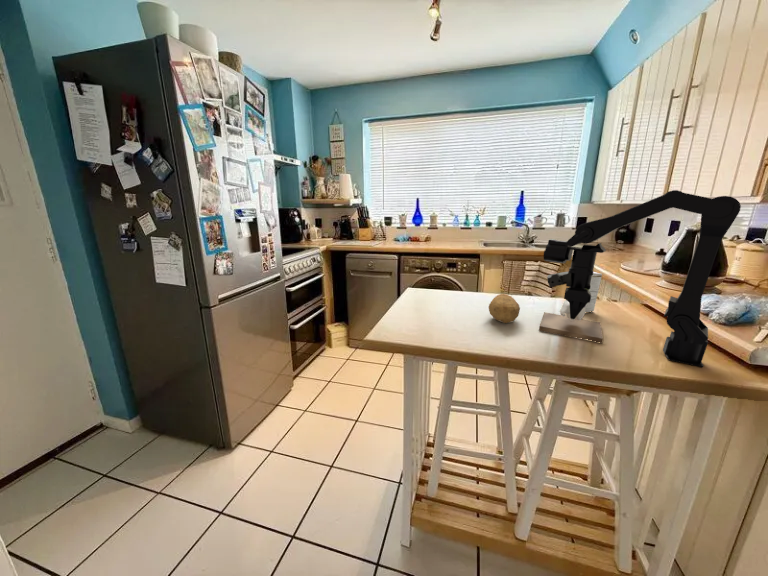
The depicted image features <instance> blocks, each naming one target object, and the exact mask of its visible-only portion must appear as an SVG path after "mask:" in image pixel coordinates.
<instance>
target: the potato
mask: <svg viewBox="0 0 768 576" xmlns="http://www.w3.org/2000/svg"><path fill="white" fill-rule="evenodd" d="M520 309H521V307H520V304H519V302H517V300H516V299H515V298H514V297H512V296H511V295H509V294H506V293H500V294H497V295H495V296H494V297H493V299H492V300H491V301H490V303H488V311H489V314H490V315H491V316H492V317H493V318H494V319H495V320H496V321H498V322H501V323H503V324H509V323H512V322H514V321H515V320H516V319H517V318H519V315H520Z"/></svg>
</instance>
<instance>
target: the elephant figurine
mask: <svg viewBox="0 0 768 576" xmlns="http://www.w3.org/2000/svg"><path fill="white" fill-rule="evenodd" d="M585 309H586V308H583V309H582V310H581V311H580V313H579V314H578V315H577V316H576V319H577V320H581V319H584V318H583V317H585V314H586V313H585ZM558 312H559V315H561V316H563V317H564V316H566V317H567V318H570V304H569V302H568V301H567V300H566V299H564V301H563V302H562V305H561V307H560V309H559V311H558ZM570 320H575V319H571V318H570Z"/></svg>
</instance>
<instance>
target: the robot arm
mask: <svg viewBox="0 0 768 576" xmlns="http://www.w3.org/2000/svg"><path fill="white" fill-rule="evenodd" d="M741 207H742V206H741V203H740V201H739V200H738V199H737V198H735V197H732V196H727V195H721V196H716V197H711V198H710V197H707V196H700V195H698V194H697V195H696V194H692V193H687V192H683V191H681V190H678V189H673V190H669V191H668V192H665V193H664V194H662V195H660V196H657V197H654V198H653V199H649V200H647V201H645V202H643V203H641V204H638V205H636V206H633V207H631V208H628V209H626V210H623V211H621V212H618V213H617V214H614V215H611V216H607V217H604V218H599V219H596V220H592V221H588V222H583V223H581V224H579V225H578V226H577V227H576V229H575V231H574V234H573V235H572V236H571V237H570V238H569V239H568V240H567V241H566V240H559V239H552V238H551V239H548V241H547V243H546V246H545V248H544V251H543V261H545V262H552V263H559V264H560V263H561V264H566V263H567V261H571V263H570V267H569V268H568V271H563V272H556V273H552V274H548V275H547V276H546V278H547V279H546V280H547V284H548V287H549V288H555V287H558V286H564V285H565V287H566V288H565V291H564V296H563V299H564V300H567V301H568V302H569V304H570V318H571V319H575V318H576V316H577V315H578V314H579V313H580V311H581V310H582V309H583V308H584V307H585V305H586V304H587V303H589V302H590V299H591V293H590V292H589V290H588V289H590V286H591V285H590V283H591V279H592V275H593V272H594V269H595V263H596V259H597V254H598V253H600V254H603V253H604V252H606V251H607V249H606V248H605V247H604V246H603V245H602V242H601V243H600V242H599V243H597V244H596V245H595V244H594V245H593V244H591V243H593V242H596V241H598V240H599V239H602V238H604V237H606V236H607V235H609V234H611V233H612V232H614V231H616V230H618V229H619V228H622V227H624V226H627V225H631V224H632V223H635V222H637V221H640V220H643V219H646V218H648V217H651V216H653V215H656V214H658V213H662V212H664V211H667V210H669V209H678V210H681V211H686V212H689V213H694V214H698V215H701V217H700V227H699V229H700V230H699V238H698V242H697V244H696V247H695V250H694V253H693V257H692V260H691V262H690V265H689V269H688V272H687V275H686V278H685V280H684V283H683V287H682V289H681V292H680V293H679V295H678V296H677V297H675V296H672V295H671V296H670V297H669V299H668V305H667V308H666V309H665V312H664V315H663V317H666V324H667V326H668V327H669V328H670V329H672V330H673V331H671V332H670V335H669V336H666V338H665V342H664V344H663V348H662V352H663V354H664V355H665V356H666V358H667V360H669V361H672V362H677V363H682V364H685V365H689V366H696V367H700V368H704V367H705V365H704V364H703V362H702V361H703V359H704V356H705V353H706V350H707V347H708V345H709V340H708V339H709V327H708V326H707V325H706V324H705V323H704V322H703V321H702V320H701V308H702V296H703V294H704V291H705V289H706V285H707V283H708V280H709V277H710V274H711V271H712V268H713V265H714V263H715V261H716V260H715V259H716V258H717V254H718V251H719V248H720V246H721V243H722V240H723V239H724V237H725V235H726V234H727V232H728V231H729V230H730V228H731V226H732V225H733V223H734V222H735V220H736V219H737V217H738V215H739V214H740V212H741ZM580 244H583V245H582V246H581V247H580V246H577V245H580Z"/></svg>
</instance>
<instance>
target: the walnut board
mask: <svg viewBox="0 0 768 576" xmlns="http://www.w3.org/2000/svg"><path fill="white" fill-rule="evenodd" d="M539 330H540V331H541V332H544V331H545V332H544V333H549V332H550V333H549V334H554V335H558V334H560V335H559V336H563V335H566V336H565V337H568V336H571V337H570V338H573V337H577V338H576V339H578V338H582V339H588V340H592V341H596V342H595V343H597V342H600V343H599V344H602V343H603V340H604V337H603V331H602V324H601V322H600V321H595V320H589V319H585V318H582V319H581V320H577V319H576V318H575V320H570V318H567V317H566V316H564V317H563V316H561V314H557V313H551V312H546V311H545V312H543V315H542V317H541V321H540V323H539V327H538V331H539ZM582 339H581V340H582ZM592 341H591V342H592Z"/></svg>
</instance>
